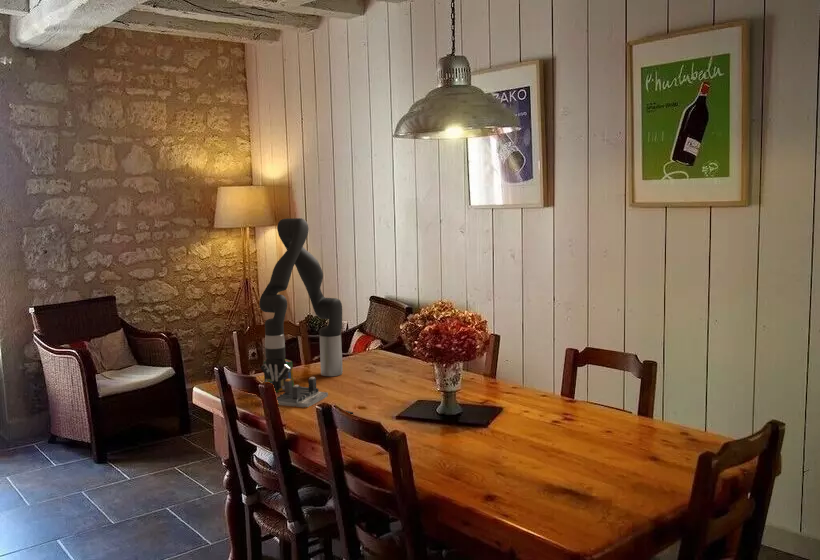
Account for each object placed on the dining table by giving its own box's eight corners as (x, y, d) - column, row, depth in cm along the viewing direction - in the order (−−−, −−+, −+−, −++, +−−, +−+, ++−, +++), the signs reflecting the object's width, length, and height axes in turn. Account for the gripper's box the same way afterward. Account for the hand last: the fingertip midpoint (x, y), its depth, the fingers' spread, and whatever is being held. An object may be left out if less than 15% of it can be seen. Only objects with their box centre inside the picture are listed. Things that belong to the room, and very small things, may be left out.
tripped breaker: (288, 393, 286) (287, 378, 285) (292, 394, 285) (292, 378, 284) (284, 395, 283) (284, 379, 283) (289, 395, 283) (288, 380, 282)
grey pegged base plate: (294, 392, 293) (293, 374, 292) (328, 396, 287) (327, 377, 286) (271, 404, 278) (270, 384, 277) (306, 408, 272) (306, 388, 271)
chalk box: (294, 389, 298) (293, 353, 296) (273, 393, 293) (271, 356, 291) (284, 384, 306) (283, 349, 304) (264, 388, 301) (262, 352, 299)
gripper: (295, 345, 285) (296, 389, 287) (265, 343, 290) (267, 386, 292) (284, 349, 278) (286, 394, 280) (254, 346, 283) (256, 391, 285)
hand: (276, 390), depth 286 cm, fingers closed
